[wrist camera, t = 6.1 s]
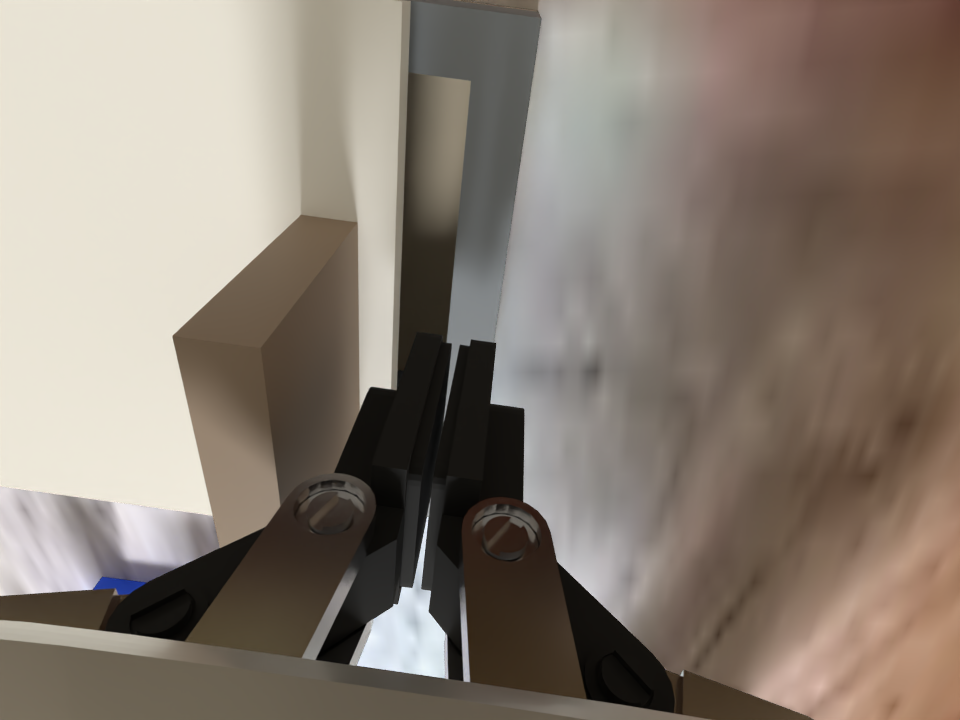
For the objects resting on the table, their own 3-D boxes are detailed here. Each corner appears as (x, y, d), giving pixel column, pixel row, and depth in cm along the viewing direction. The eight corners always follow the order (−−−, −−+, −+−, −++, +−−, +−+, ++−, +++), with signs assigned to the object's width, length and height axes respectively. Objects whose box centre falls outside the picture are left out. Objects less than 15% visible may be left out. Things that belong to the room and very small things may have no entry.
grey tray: (538, 11, 16) (541, 17, 10) (483, 393, 24) (467, 522, 18) (-208, -89, 16) (-623, -139, 10) (-24, 324, 24) (-203, 430, 18)
